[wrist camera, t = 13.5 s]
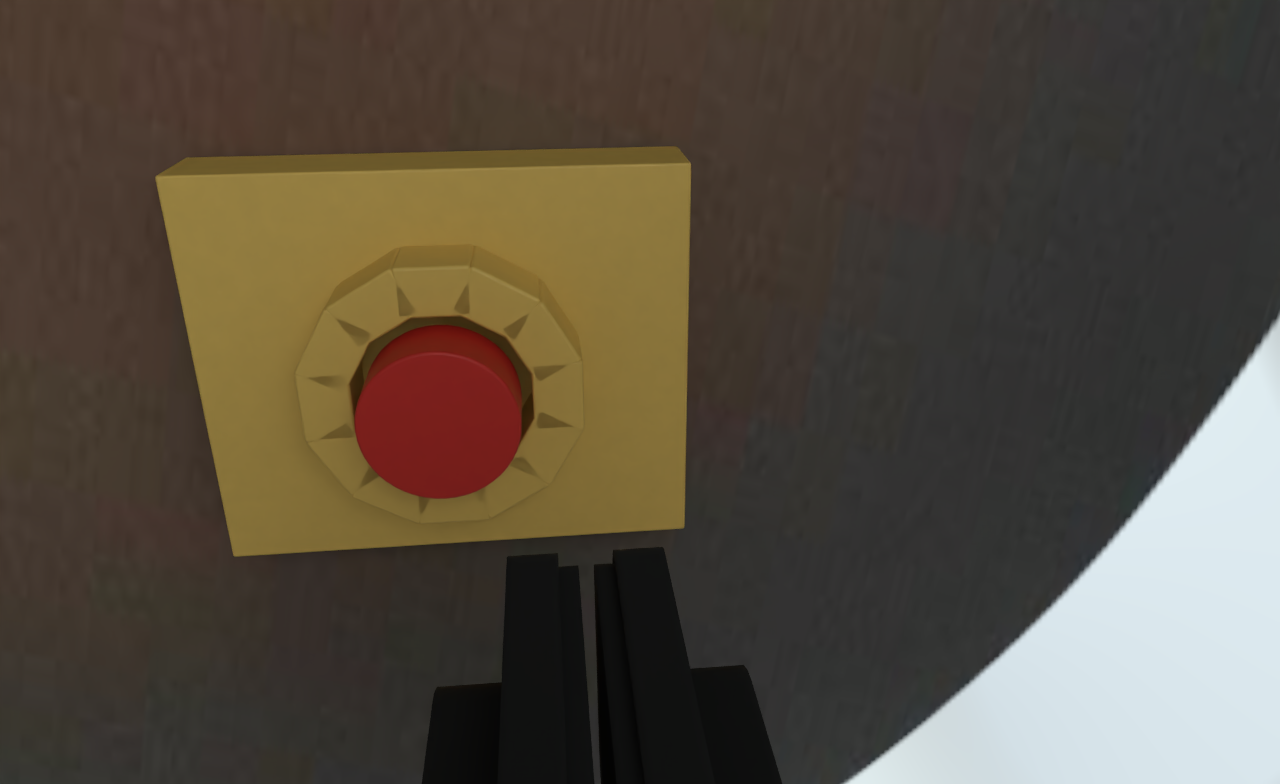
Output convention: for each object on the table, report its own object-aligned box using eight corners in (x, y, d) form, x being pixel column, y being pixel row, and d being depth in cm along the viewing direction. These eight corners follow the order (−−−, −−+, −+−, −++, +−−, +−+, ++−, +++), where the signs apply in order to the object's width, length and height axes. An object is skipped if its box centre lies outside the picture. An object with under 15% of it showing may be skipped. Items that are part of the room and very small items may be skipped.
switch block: (677, 145, 25) (704, 178, 21) (673, 489, 29) (695, 566, 25) (185, 157, 23) (123, 194, 20) (254, 514, 28) (213, 599, 24)
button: (517, 320, 22) (517, 348, 21) (525, 459, 24) (526, 495, 22) (356, 326, 22) (344, 355, 20) (374, 467, 23) (364, 504, 22)
